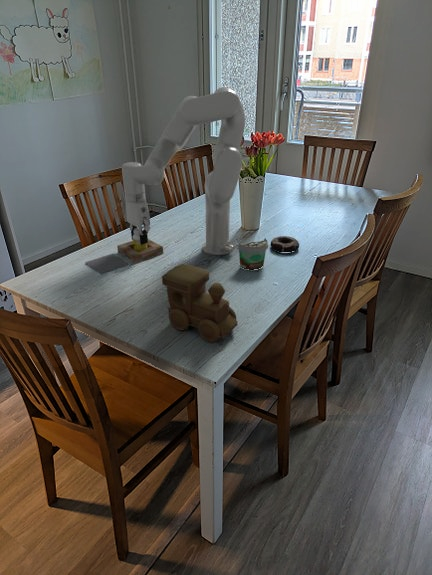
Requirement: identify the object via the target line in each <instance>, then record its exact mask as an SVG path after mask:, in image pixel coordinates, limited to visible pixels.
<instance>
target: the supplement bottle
mask: <svg viewBox="0 0 432 575" xmlns="http://www.w3.org/2000/svg"><path fill="white" fill-rule="evenodd" d="M143 230H144V228H142V231H143ZM133 231H134V235H133V240H132V241H133V245H134V250H136V251H140V250H143V249H146V248H147V243H146V244H143V245H141V244H140V235H141V234H140V231H139V228H138V227H137V228H135V229H134V230H133Z"/></svg>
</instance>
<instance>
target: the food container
mask: <svg viewBox="0 0 432 575" xmlns="http://www.w3.org/2000/svg"><path fill="white" fill-rule="evenodd" d="M268 248H269V243H268V239H267V238H264V240H261V241H251V242H248V243H246V244H240V243H238V245H237V250H238V251H239V252H238V255H239V257H238V258H239V267H242V268H244V269H249V270H254V269H259V268H261V267H262V266H263V267H264V263H265V258H266V252H267V250H268ZM242 268H241V269H242ZM244 269H243V270H244Z"/></svg>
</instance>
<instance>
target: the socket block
mask: <svg viewBox="0 0 432 575" xmlns="http://www.w3.org/2000/svg"><path fill="white" fill-rule="evenodd" d="M116 247H117V253H119V255H122V256H123V257H125V258H127V259H129V260H130V261H131V262H133V263H135V264H137V263H139V262H142V261H146V260H149V259H151V258H155V257H157V256H159V255H160V256H161V255H163V254H164V246H162V245H160V244H158V243H157V242H155V241H153V240H151V239H149V238H148V243H147V248H146V249H143V250H140V251H136V250H134V245H133V240H131V241H130V240H129V241H127V242H124V243H121V244H118V245H116Z"/></svg>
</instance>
